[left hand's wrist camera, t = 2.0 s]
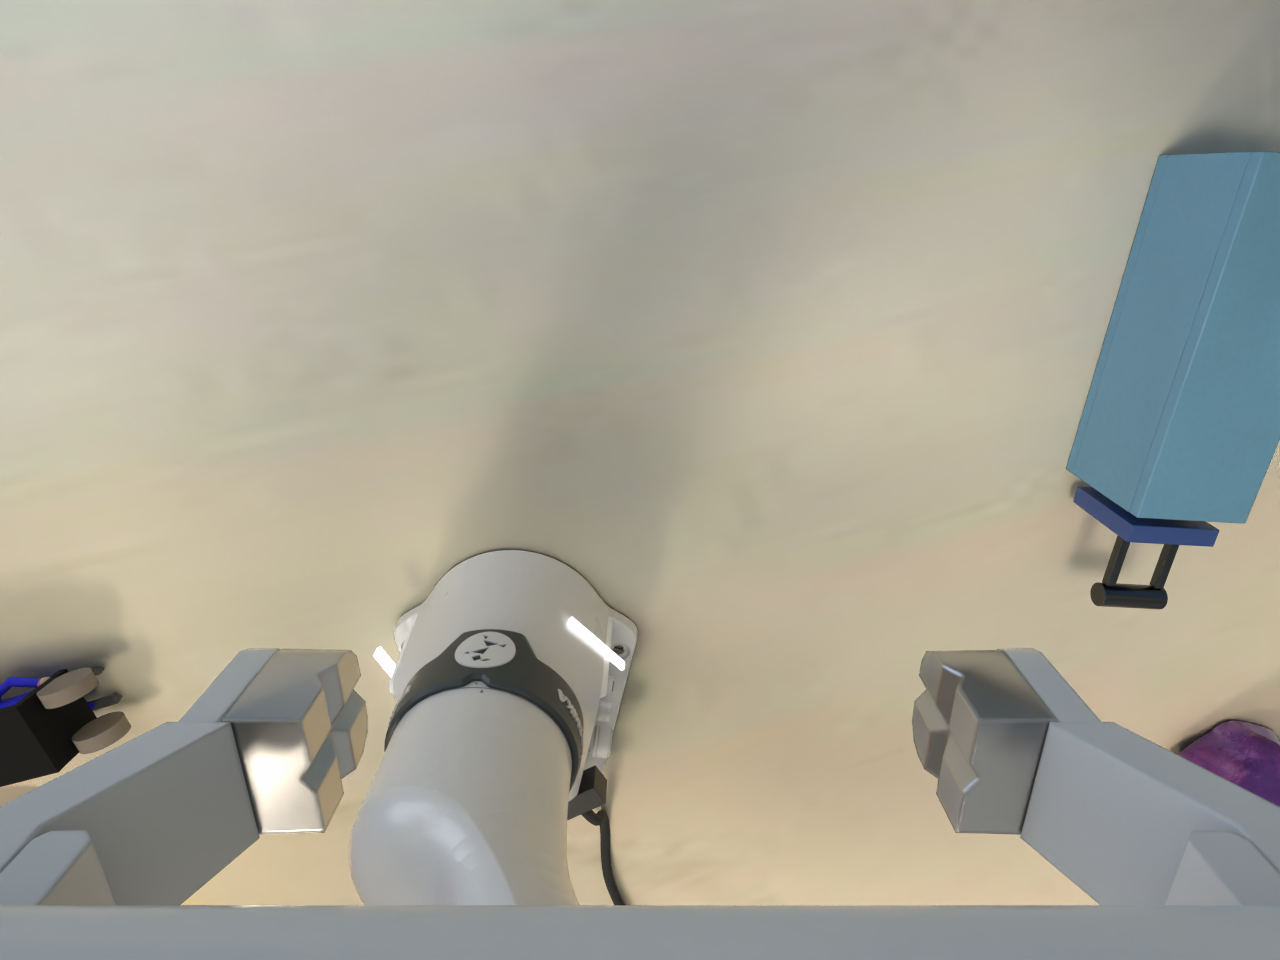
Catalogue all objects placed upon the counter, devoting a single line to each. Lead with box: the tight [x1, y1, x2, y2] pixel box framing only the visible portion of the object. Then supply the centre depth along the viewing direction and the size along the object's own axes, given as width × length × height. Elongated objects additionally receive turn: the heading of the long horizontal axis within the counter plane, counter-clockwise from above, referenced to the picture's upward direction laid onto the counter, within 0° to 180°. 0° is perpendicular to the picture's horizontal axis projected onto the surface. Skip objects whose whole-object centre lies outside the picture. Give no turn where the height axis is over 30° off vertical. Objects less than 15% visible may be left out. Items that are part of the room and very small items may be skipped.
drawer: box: [1073, 487, 1219, 609], centre depth 48 cm, size 25×6×6 cm, turn 177°
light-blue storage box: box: [1066, 151, 1280, 523], centre depth 45 cm, size 21×7×8 cm, turn 177°
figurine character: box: [0, 667, 131, 787], centre depth 57 cm, size 7×8×15 cm
